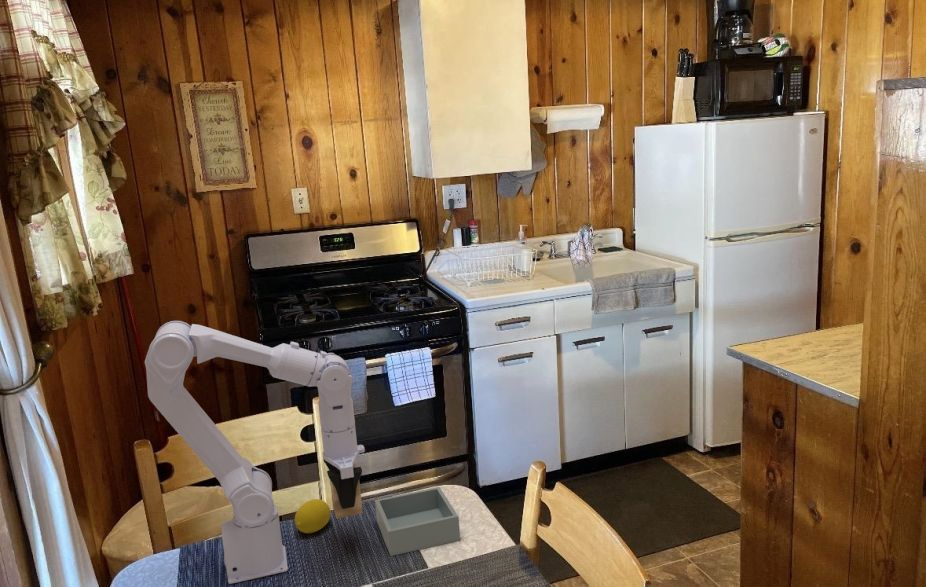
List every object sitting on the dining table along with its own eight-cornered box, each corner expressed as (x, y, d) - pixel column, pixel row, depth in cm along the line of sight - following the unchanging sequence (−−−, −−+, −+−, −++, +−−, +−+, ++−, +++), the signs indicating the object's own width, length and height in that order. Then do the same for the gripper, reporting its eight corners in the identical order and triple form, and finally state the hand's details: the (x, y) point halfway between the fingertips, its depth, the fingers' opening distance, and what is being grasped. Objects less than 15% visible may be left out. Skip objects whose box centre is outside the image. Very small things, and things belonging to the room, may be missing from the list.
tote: (390, 556, 120) (388, 531, 119) (377, 522, 131) (374, 499, 131) (460, 540, 123) (458, 516, 122) (441, 508, 135) (439, 486, 134)
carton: (336, 518, 120) (332, 485, 119) (332, 507, 124) (329, 475, 123) (362, 513, 121) (359, 480, 120) (358, 501, 125) (355, 470, 124)
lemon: (330, 489, 132) (300, 508, 125) (343, 516, 132) (313, 537, 125) (312, 496, 135) (281, 515, 128) (324, 522, 135) (294, 543, 128)
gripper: (368, 437, 114) (376, 514, 117) (354, 409, 128) (362, 479, 130) (324, 444, 112) (333, 523, 115) (315, 415, 126) (323, 486, 128)
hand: (345, 500), depth 122 cm, fingers closed on carton, 4 cm apart
